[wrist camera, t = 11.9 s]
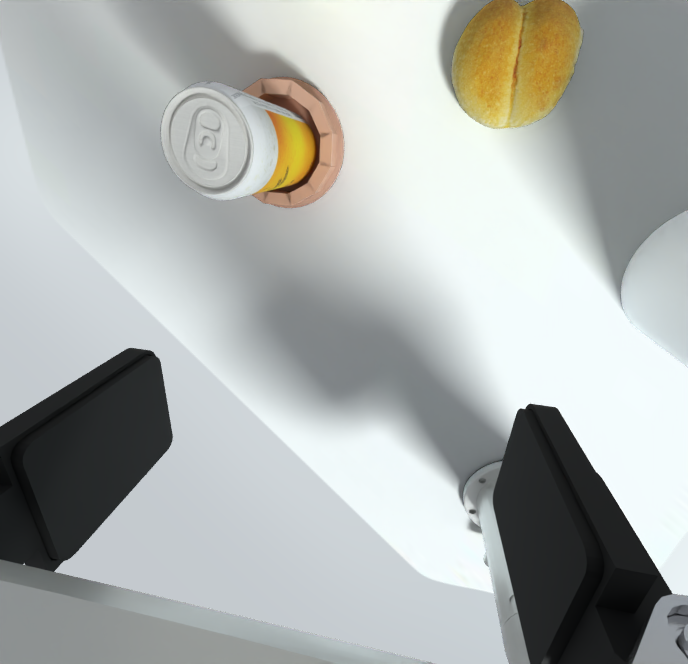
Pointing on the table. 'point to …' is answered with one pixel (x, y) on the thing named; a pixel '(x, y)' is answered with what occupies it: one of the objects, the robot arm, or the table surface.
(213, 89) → the beer can
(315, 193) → the jar base
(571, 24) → the bread roll
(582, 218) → the table surface
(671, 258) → the canister
